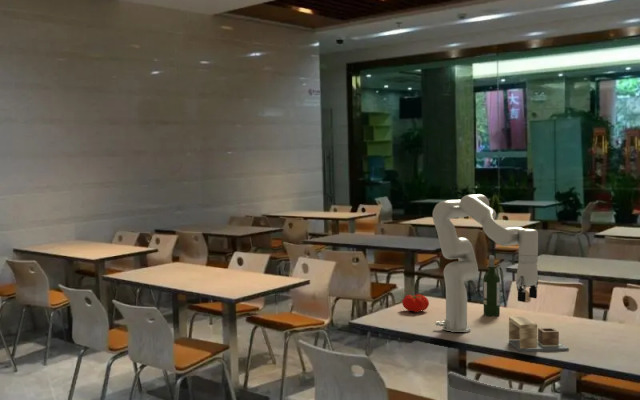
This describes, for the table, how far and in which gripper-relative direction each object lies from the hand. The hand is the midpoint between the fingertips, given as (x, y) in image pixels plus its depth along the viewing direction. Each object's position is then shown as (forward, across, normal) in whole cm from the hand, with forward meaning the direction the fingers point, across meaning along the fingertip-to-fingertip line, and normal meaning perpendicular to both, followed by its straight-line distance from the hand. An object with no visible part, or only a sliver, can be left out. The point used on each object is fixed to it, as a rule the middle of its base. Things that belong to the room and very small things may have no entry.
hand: (527, 299), depth 278 cm
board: (+20, -3, +4) cm, 20 cm away
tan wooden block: (+18, +2, -1) cm, 19 cm away
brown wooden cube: (+18, -6, +6) cm, 20 cm away
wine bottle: (+21, -42, -41) cm, 62 cm away
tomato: (+21, -22, -74) cm, 80 cm away
